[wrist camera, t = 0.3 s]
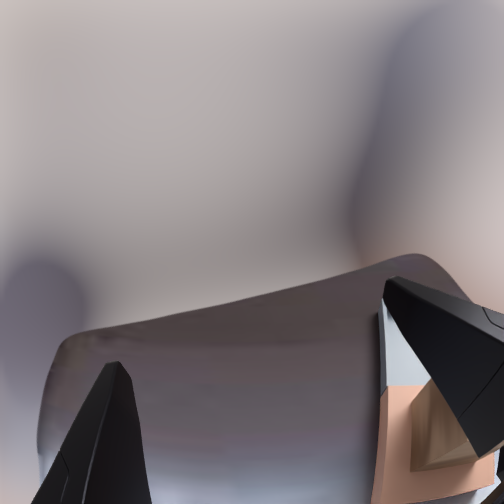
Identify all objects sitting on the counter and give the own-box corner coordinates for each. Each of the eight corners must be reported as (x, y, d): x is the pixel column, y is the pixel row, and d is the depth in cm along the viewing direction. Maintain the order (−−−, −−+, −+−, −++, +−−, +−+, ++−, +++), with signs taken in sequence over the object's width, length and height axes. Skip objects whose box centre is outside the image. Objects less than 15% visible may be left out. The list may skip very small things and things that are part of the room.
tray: (473, 391, 18) (483, 381, 17) (380, 396, 21) (386, 386, 19) (456, 314, 26) (463, 301, 24) (378, 311, 28) (381, 298, 27)
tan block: (476, 461, 11) (542, 420, 6) (409, 472, 13) (467, 441, 8) (471, 396, 16) (523, 339, 11) (411, 401, 17) (455, 343, 12)
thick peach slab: (477, 489, 10) (493, 483, 9) (369, 506, 13) (379, 505, 11) (473, 393, 18) (486, 380, 16) (380, 397, 20) (388, 385, 19)
